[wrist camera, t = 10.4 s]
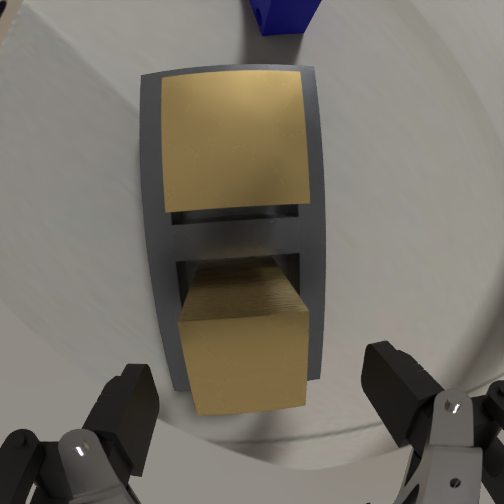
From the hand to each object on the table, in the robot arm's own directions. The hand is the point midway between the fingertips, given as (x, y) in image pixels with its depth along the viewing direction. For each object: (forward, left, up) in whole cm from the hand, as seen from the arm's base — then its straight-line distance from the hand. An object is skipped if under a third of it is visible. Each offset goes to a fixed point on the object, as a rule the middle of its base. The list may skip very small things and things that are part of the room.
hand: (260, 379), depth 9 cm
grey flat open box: (0, -4, -9) cm, 10 cm away
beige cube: (0, -8, -8) cm, 12 cm away
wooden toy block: (0, 0, -8) cm, 8 cm away
